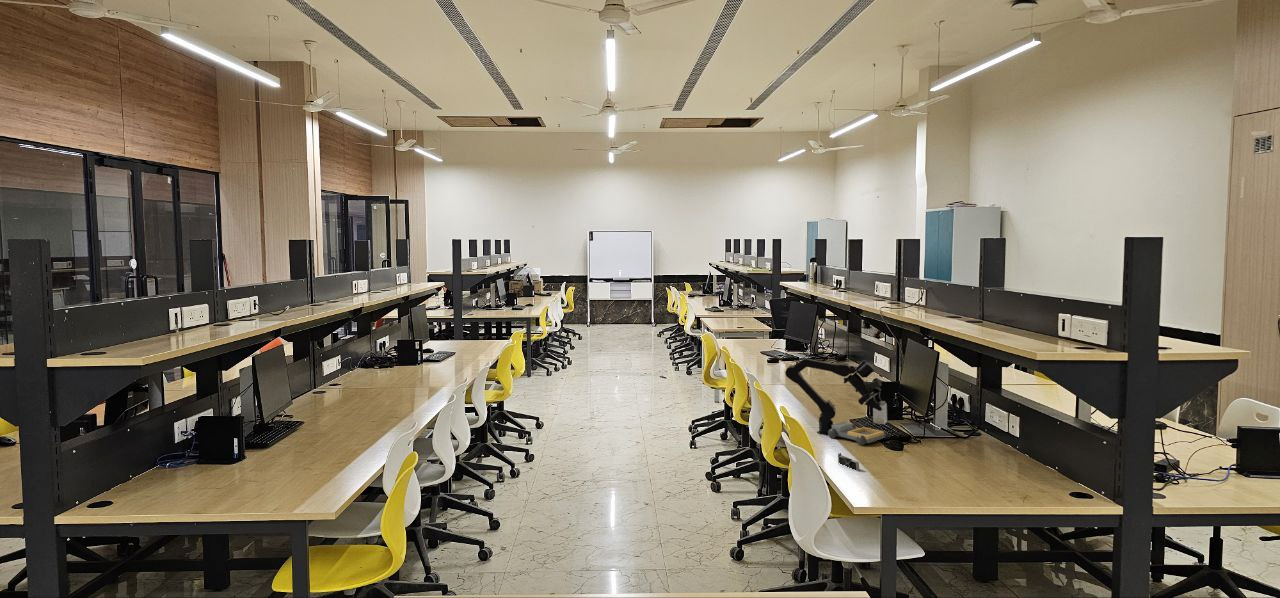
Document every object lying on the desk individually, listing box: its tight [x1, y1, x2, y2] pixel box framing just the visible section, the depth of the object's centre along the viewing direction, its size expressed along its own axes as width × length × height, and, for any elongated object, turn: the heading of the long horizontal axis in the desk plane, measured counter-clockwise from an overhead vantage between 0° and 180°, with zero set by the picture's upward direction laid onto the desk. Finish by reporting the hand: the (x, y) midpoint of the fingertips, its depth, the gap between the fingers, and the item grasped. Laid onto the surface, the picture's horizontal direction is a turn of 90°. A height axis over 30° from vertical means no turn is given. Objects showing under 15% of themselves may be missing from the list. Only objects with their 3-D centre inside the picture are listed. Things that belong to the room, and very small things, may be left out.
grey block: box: [872, 400, 888, 425], centre depth 333 cm, size 5×5×10 cm
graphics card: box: [837, 452, 860, 471], centre depth 291 cm, size 12×3×5 cm, turn 23°
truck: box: [827, 421, 887, 447], centre depth 332 cm, size 23×15×6 cm, turn 33°
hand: (882, 409), depth 332 cm, fingers closed on grey block, 5 cm apart
